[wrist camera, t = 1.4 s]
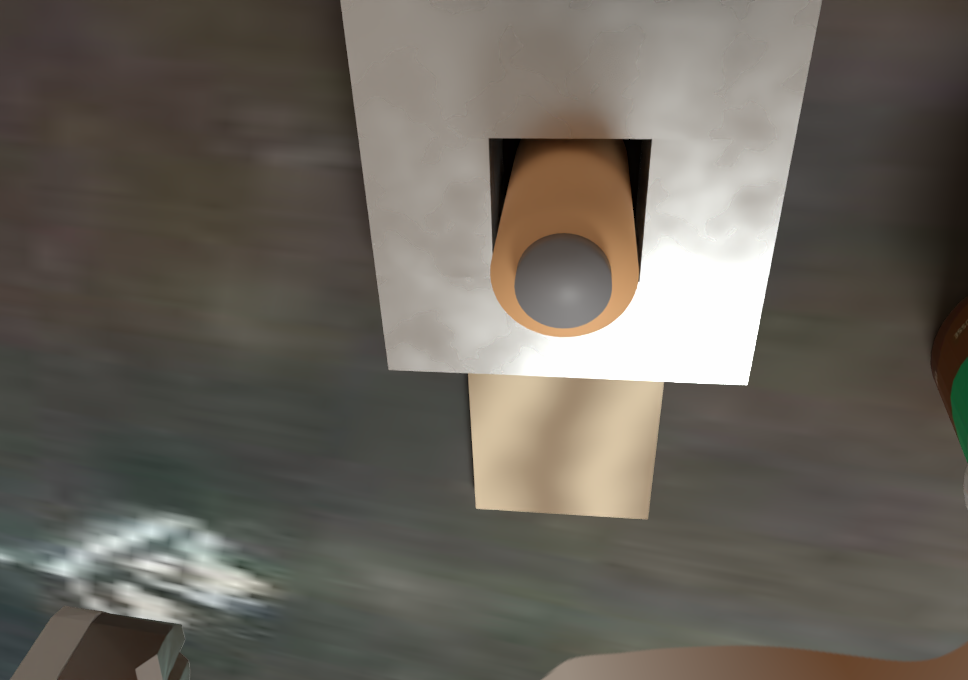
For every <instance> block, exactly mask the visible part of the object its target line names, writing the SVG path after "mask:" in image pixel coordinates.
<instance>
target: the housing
mask: <svg viewBox="0 0 968 680" xmlns="http://www.w3.org/2000/svg"><path fill="white" fill-rule="evenodd" d="M340 1H341V9H342V17H343V24H344V32H345V40H346V47H347V55H348V63H349V70H350V78H351V85H352V93H353V101H354V108H355V116H356V124H357V131H358V139H359V147H360V154H361V162H362V170H363V177H364V185H365V192H366V200H367V208H368V215H369V223H370V231H371V238H372V246H373V254H374V261H375V269H376V277H377V284H378V292H379V299H380V307H381V315H382V322H383V330H384V338H385V345H386V353H387V361H388V368H389V370H404V371H428V372H451V373H475V374H499V375H523V376H547V377H571V378H594V379H618V380H642V381H666V382H690V383H713V384H737V385H747V383H748V378H749V373H750V368H751V363H752V358H753V353H754V347H755V342H756V337H757V332H758V327H759V322H760V317H761V311H762V306H763V301H764V296H765V291H766V286H767V280H768V275H769V270H770V265H771V260H772V255H773V250H774V244H775V239H776V234H777V229H778V224H779V219H780V214H781V208H782V203H783V198H784V193H785V188H786V183H787V178H788V172H789V167H790V162H791V157H792V152H793V147H794V142H795V136H796V131H797V126H798V121H799V116H800V111H801V105H802V100H803V95H804V90H805V85H806V80H807V75H808V69H809V64H810V59H811V54H812V49H813V44H814V39H815V33H816V28H817V23H818V18H819V13H820V8H821V3H822V0H340ZM503 138H548V139H642V141H641V153H640V166H639V178H638V191H637V203H636V216H635V235H636V245H637V256H638V266H639V279H638V286H637V289H636V292H635V295H634V297H633V299H632V301H631V303H630V304H629V306H628V307H627V309H626V310H625V311H624V312H623V313H622V315H621V316H620V317H618V318H617V319H616V320H615V321H614V322H612V323H611V324H609V325H608V326H606V327H604V328H602V329H600V330H598V331H596V332H593V333H590V334H587V335H582V336H576V337H553V336H548V335H543V334H540V333H537V332H534V331H532V330H530V329H527V328H526V327H524V326H522V325H521V324H519V323H518V322H516V321H515V320H514V319H512V318H511V317H510V316H509V315H508V314H507V313H506V312H505V310H504V309H503V308H502V307H501V305H500V304H499V302H498V300H497V298H496V296H495V294H494V291H493V288H492V284H491V278H490V265H491V260H492V255H493V251H494V246H495V242H496V237H497V233H498V229H499V224H500V220H501V216H502V211H503V207H504V168H503Z"/></svg>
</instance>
